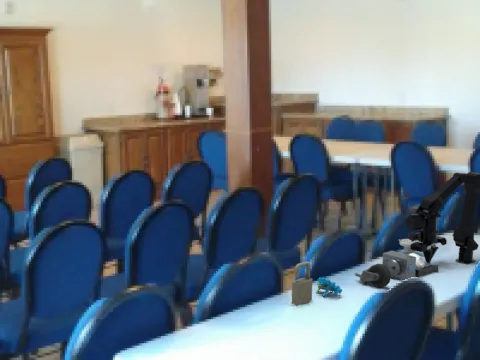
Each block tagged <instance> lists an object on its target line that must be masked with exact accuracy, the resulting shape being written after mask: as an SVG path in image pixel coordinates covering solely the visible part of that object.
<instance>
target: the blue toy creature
mask: <svg viewBox="0 0 480 360" xmlns="http://www.w3.org/2000/svg"><path fill="white" fill-rule="evenodd" d="M316 285H317V290H316V291H315V294H317V293H318V294H319V292H320V290H323V291H324V292H323V294H322V297H323V296H324V297H323V298H326V296H327V295H328V293H329V292H331V291H332V292H331V293H335V294H336V293H337V294H339V295H341V294H342V292H343V289H342V288H341V286H340V285H336V282H334V281H331V279H329V278H325V277H321V276H320V277H319V278H318V279H317V283H316ZM337 294H336V295H337Z"/></svg>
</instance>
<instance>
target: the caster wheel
mask: <svg viewBox="0 0 480 360" xmlns="http://www.w3.org/2000/svg"><path fill="white" fill-rule="evenodd" d="M354 276H355V277H359V281H361V285H364V286H365V285H366V284H369V283H370V284H371V285H372V286H374V287H375V288H378V289H381V288H385V287H386V286H388V285H389V284H390V281H391V279H392V277H391V273H390V271H389V269H388V268H387V267H386V266H385V265H383V263H376V264H373V265H371V266H370V267H368V268H367V269H364V270H362V273H359V272H358V273H357V272H355V273H354Z"/></svg>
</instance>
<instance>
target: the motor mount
mask: <svg viewBox="0 0 480 360" xmlns="http://www.w3.org/2000/svg"><path fill="white" fill-rule="evenodd" d="M382 264H383V265H385V266H386V267H387V268H388V269H389V271H390V273H391V278H394V279H397V280H400V281H403V280H405V279H408V278H411V277H415V278H421V277H424V276H427V275H429V274H433V273H439V264H430V265H427V266H424V267H423V268H420V269H416V257H414V256H410V255H407V253H402V252H398V251H395V250H389V251H385V252H382Z"/></svg>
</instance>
